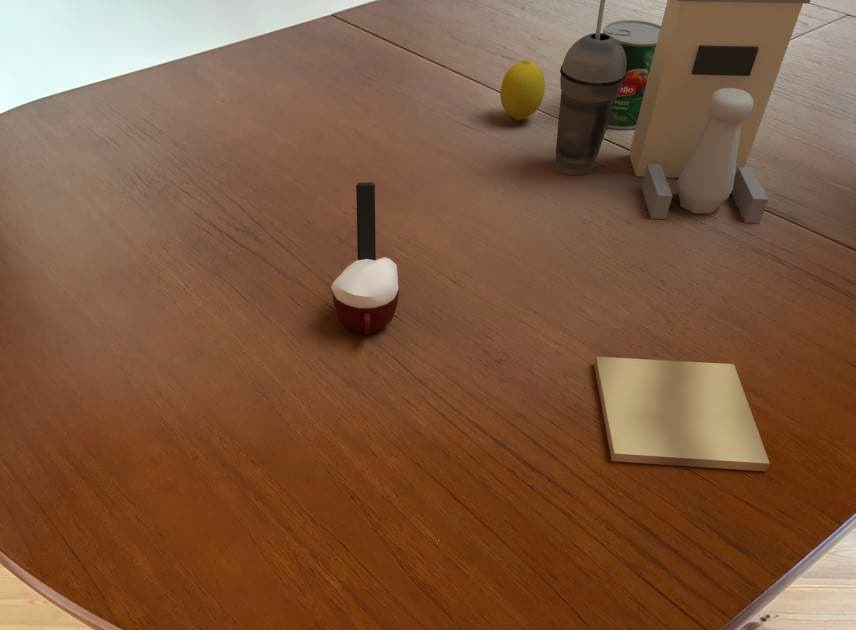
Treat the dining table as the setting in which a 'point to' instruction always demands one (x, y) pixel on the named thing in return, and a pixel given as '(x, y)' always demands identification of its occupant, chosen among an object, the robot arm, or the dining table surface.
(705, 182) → the salt shaker
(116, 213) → the dining table surface
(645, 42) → the canned tomato
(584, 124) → the beverage cup
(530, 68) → the lemon
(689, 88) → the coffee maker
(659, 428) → the plate
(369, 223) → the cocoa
